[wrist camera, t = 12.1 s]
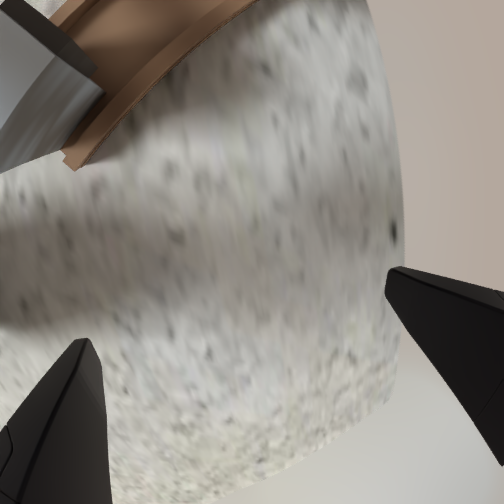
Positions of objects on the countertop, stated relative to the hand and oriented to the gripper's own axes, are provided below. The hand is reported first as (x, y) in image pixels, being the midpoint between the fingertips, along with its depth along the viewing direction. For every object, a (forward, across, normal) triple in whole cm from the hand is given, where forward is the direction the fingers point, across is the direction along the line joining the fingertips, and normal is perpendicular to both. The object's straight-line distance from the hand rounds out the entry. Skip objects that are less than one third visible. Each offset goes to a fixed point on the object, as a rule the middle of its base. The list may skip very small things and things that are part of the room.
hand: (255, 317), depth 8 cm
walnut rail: (+12, +1, -12) cm, 17 cm away
